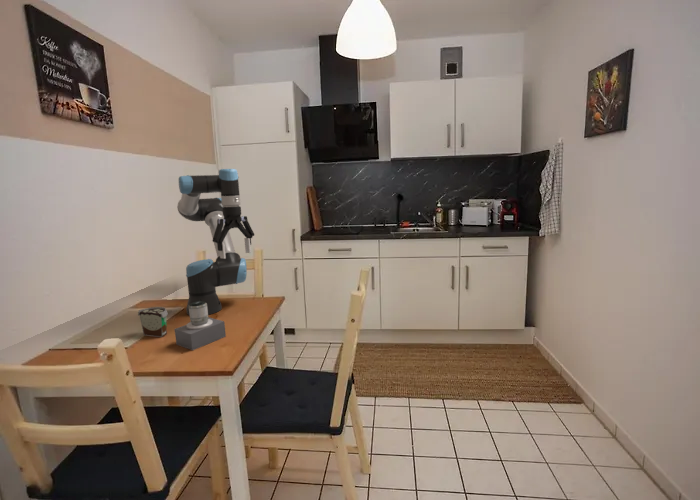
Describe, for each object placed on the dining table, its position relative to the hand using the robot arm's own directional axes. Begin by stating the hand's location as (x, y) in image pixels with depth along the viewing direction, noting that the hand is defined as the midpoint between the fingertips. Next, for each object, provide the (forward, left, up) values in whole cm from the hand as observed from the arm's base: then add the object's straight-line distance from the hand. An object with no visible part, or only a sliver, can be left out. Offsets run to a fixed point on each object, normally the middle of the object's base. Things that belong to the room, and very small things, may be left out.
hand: (236, 255), depth 163 cm
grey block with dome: (+10, -27, -27) cm, 39 cm away
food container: (-12, -31, -27) cm, 43 cm away
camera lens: (+10, -27, -20) cm, 35 cm away
